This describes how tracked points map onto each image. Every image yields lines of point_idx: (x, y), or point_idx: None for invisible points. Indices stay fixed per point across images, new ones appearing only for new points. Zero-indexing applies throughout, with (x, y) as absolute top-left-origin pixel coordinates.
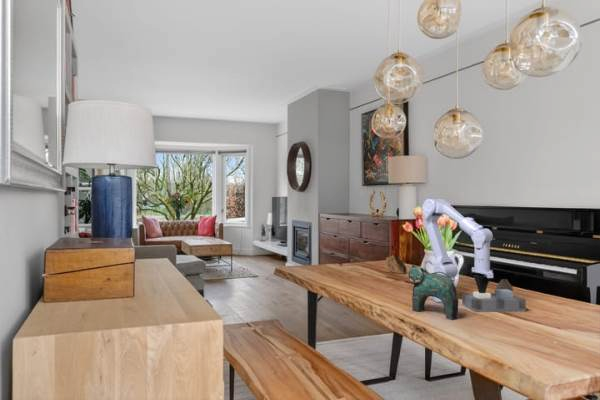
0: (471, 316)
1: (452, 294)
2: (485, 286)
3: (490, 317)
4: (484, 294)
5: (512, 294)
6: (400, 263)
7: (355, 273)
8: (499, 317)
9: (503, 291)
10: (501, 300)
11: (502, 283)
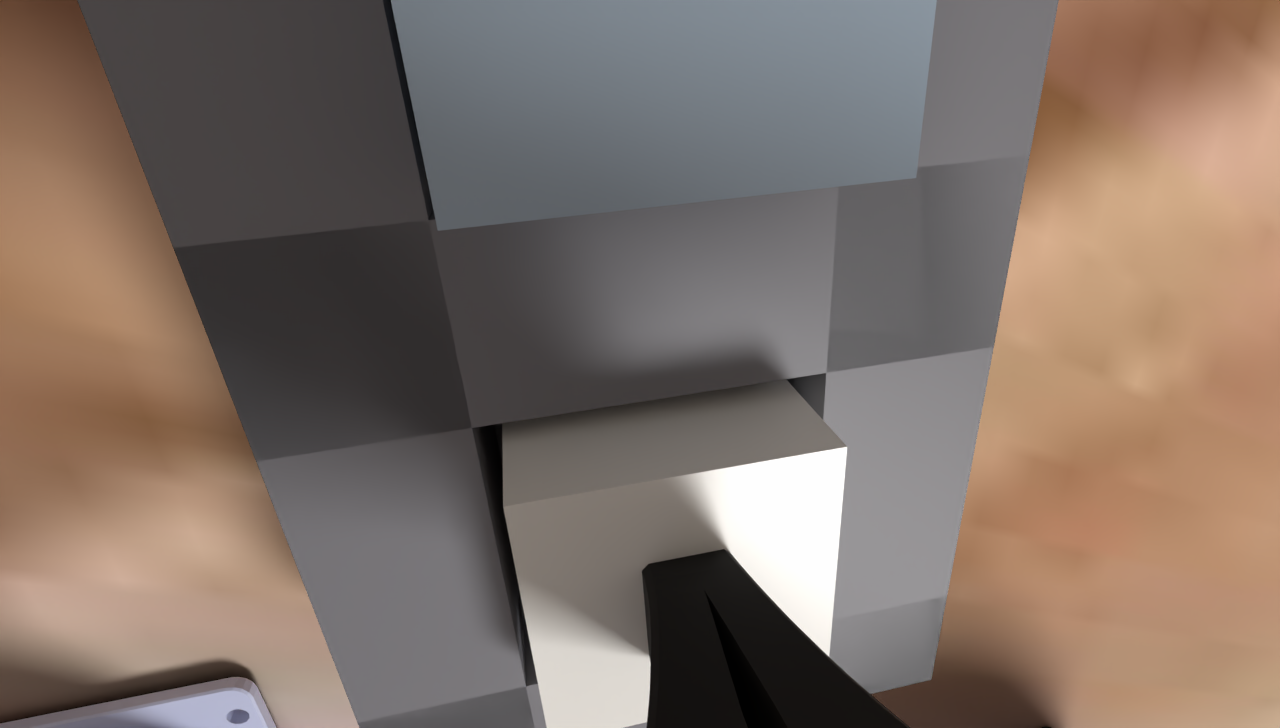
0: (1004, 609)
1: None
2: (816, 701)
3: (1091, 438)
4: (832, 577)
5: None
6: None
7: None
8: (1124, 333)
9: (887, 51)
10: (1010, 230)
11: None
